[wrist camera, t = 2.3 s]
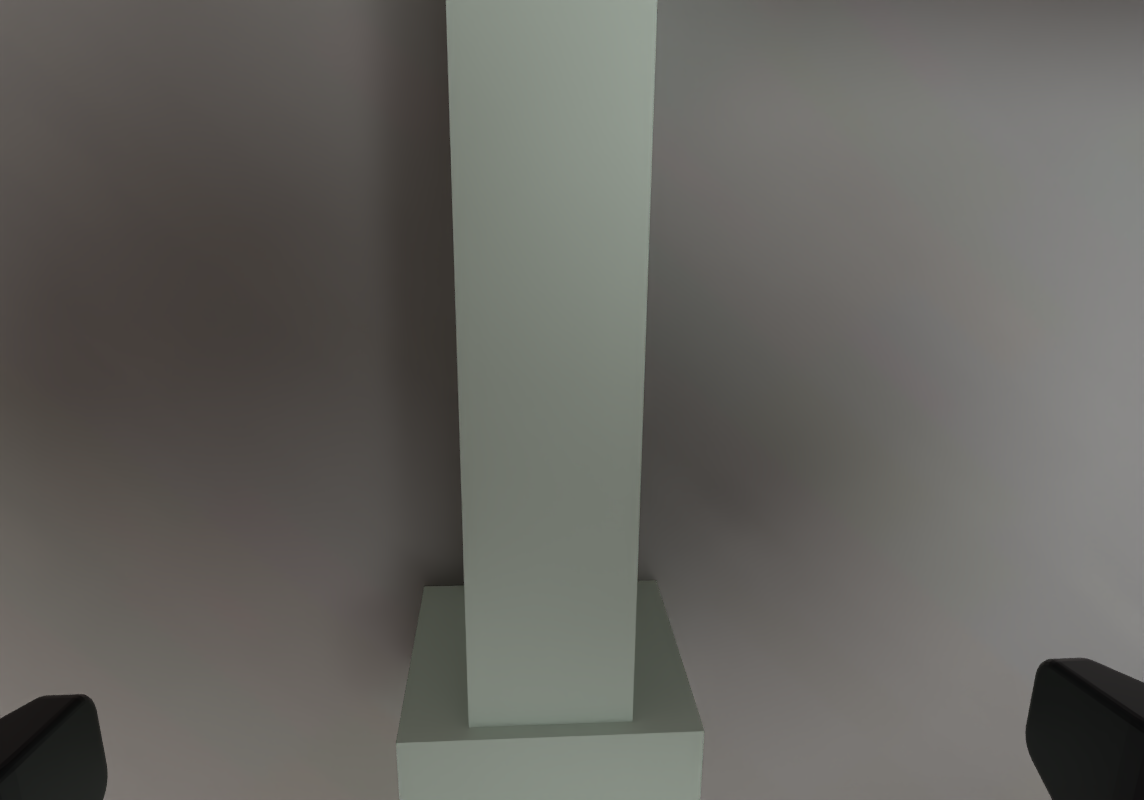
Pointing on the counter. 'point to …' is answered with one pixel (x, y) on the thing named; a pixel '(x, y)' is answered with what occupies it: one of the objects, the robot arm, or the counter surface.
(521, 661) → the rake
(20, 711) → the robot arm
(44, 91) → the counter surface
